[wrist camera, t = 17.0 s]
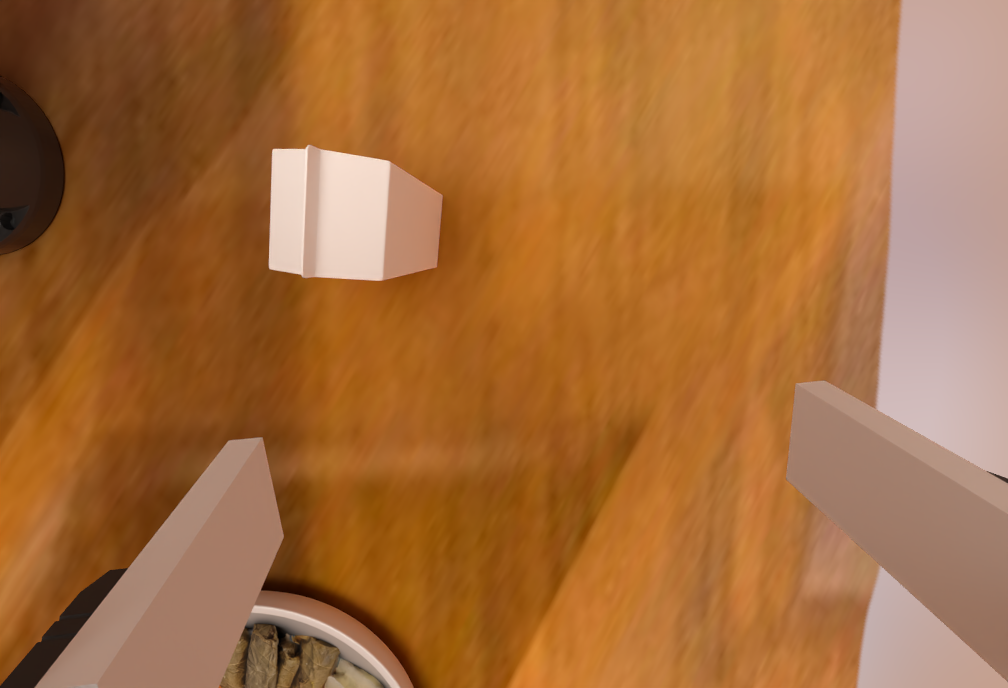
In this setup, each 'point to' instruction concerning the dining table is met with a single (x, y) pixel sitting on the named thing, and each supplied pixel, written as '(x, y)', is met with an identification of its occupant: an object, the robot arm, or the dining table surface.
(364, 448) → the dining table surface
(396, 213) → the milk
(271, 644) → the bowl
